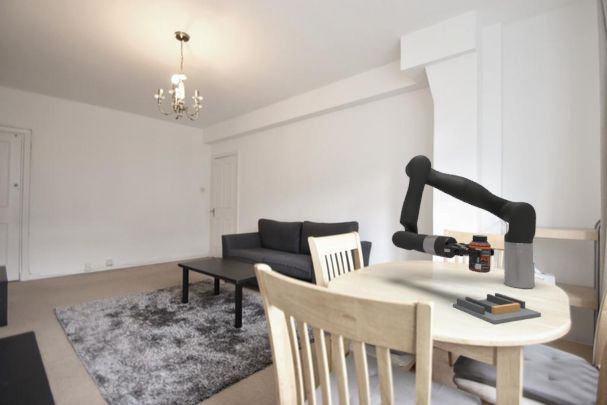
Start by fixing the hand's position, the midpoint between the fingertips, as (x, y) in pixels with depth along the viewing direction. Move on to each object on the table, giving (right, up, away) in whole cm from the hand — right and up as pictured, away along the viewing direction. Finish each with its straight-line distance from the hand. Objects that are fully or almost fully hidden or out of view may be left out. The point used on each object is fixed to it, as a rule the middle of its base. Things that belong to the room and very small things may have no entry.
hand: (487, 253), depth 90 cm
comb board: (0, -17, -3) cm, 17 cm away
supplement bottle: (-1, -6, +2) cm, 7 cm away
